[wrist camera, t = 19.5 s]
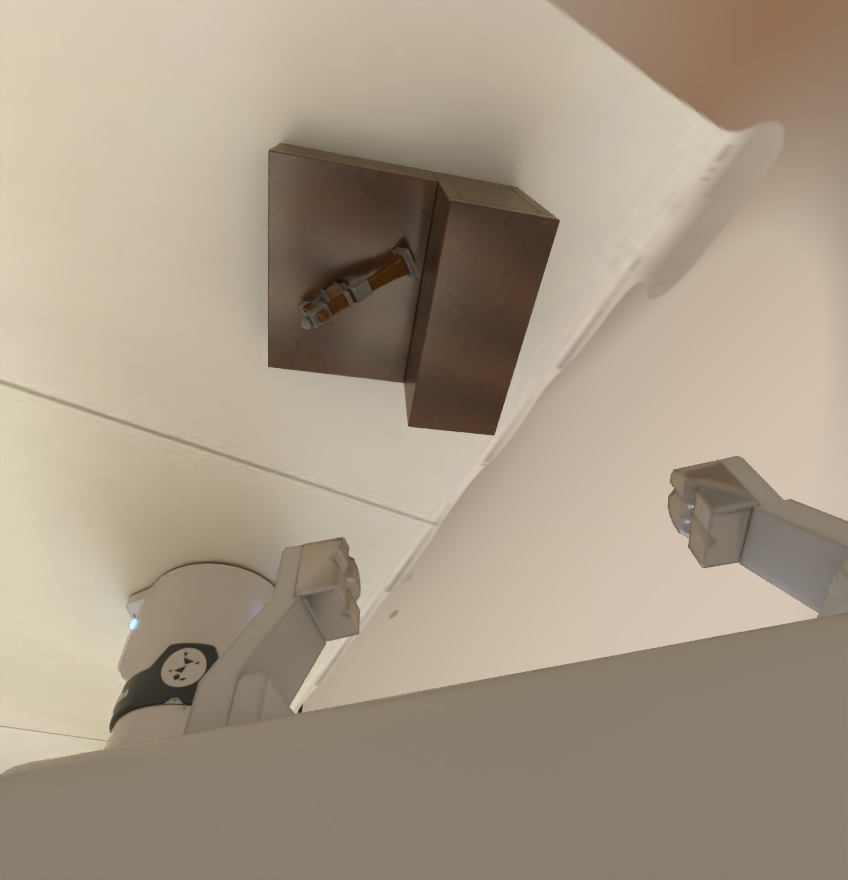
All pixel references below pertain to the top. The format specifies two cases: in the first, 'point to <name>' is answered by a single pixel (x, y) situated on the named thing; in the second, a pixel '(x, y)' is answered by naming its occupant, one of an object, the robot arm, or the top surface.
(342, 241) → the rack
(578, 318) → the top surface
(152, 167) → the top surface
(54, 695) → the top surface
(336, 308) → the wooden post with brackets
